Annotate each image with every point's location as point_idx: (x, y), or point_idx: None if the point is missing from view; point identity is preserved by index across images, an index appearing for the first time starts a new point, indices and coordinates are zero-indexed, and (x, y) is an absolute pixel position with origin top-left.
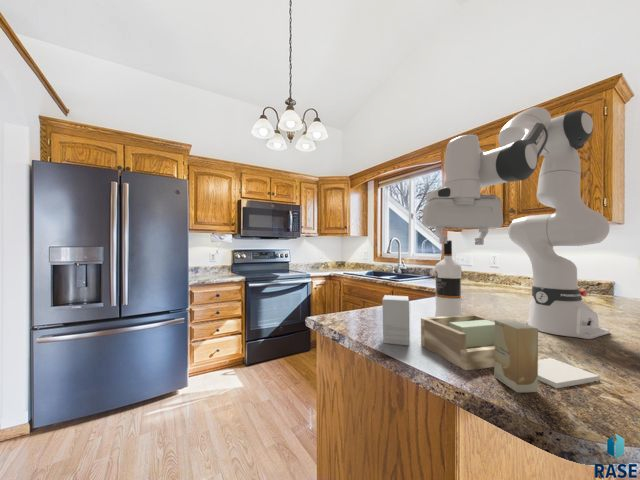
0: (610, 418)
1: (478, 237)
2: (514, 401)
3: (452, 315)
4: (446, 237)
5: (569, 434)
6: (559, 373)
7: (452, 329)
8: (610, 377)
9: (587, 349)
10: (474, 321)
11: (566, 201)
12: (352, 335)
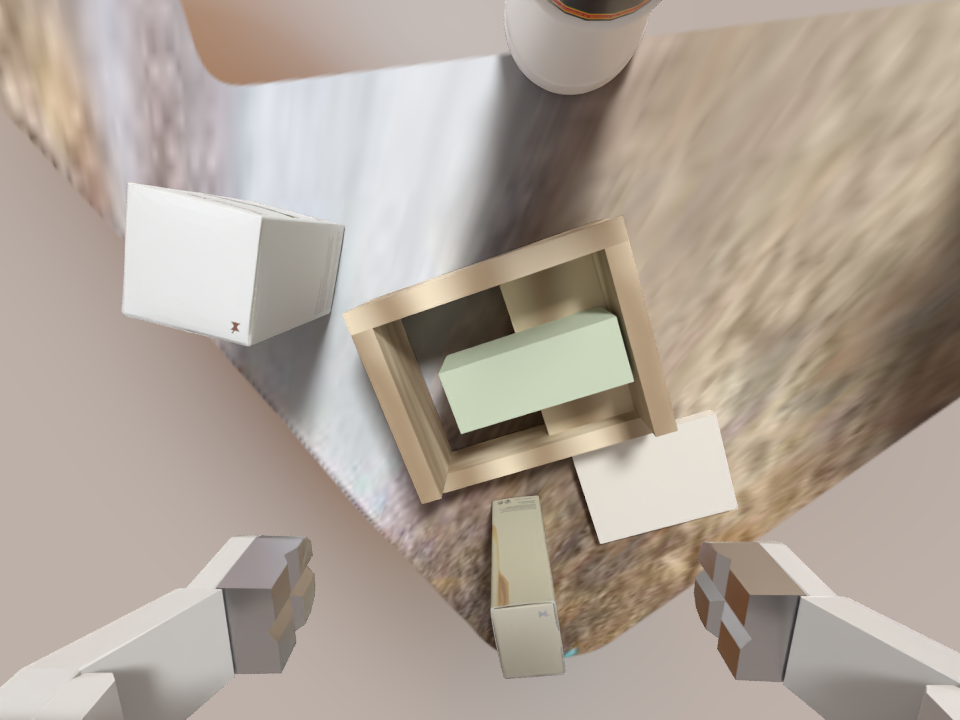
0: (605, 618)
1: (816, 612)
2: (476, 581)
3: (575, 66)
4: (271, 666)
5: None
6: (650, 501)
7: (416, 459)
8: (780, 483)
9: (947, 292)
10: (548, 351)
11: None
12: None
